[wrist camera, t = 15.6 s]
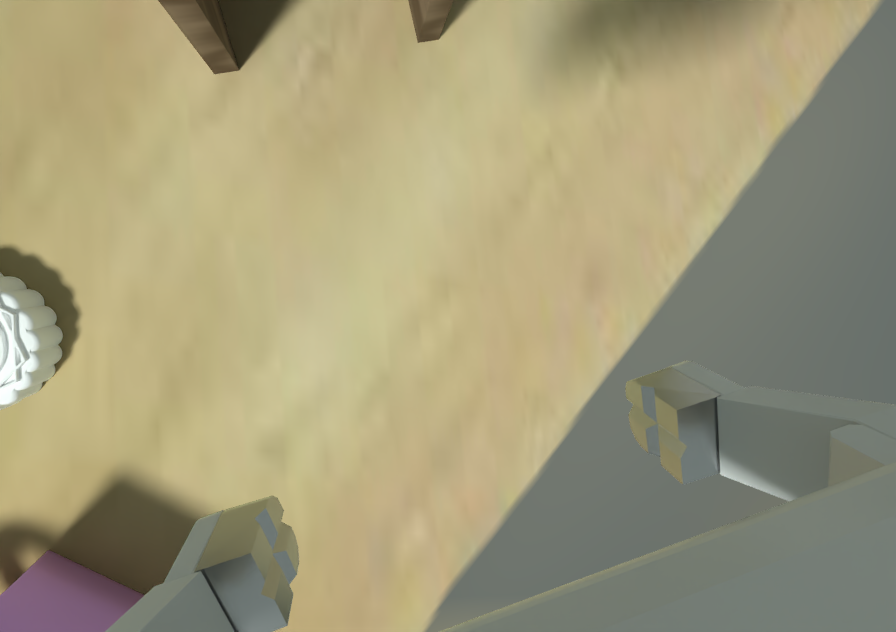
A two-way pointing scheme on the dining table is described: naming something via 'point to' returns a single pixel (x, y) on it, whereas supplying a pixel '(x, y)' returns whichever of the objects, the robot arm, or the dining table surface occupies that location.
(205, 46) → the stand
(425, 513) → the dining table surface
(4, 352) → the mooncake
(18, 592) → the teapot
